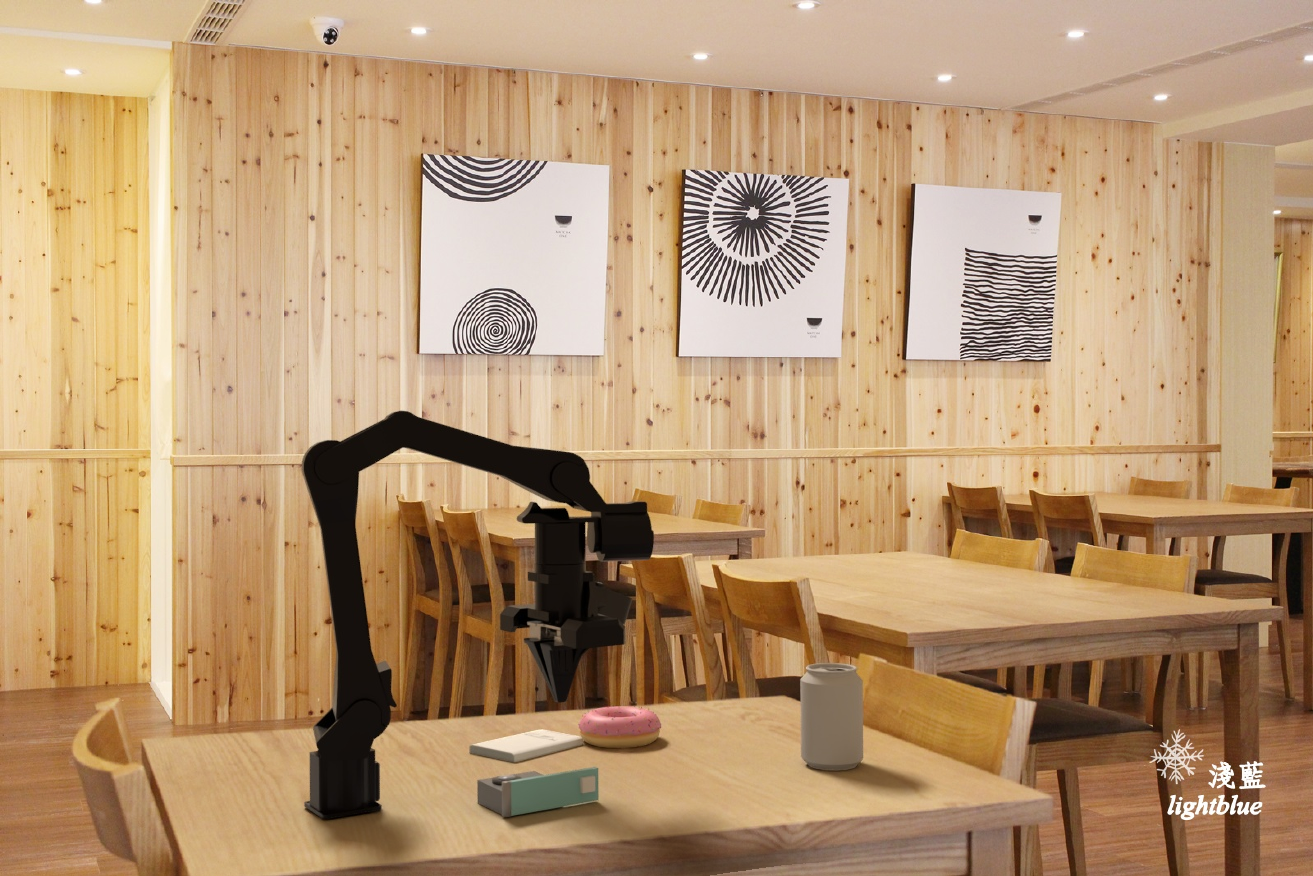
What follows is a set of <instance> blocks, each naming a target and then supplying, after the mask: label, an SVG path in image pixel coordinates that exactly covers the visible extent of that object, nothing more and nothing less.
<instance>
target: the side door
mask: <svg viewBox="0 0 1313 876" xmlns="http://www.w3.org/2000/svg"><path fill="white" fill-rule="evenodd" d="M599 797H600V795H599V767H596V766H592V767H585V768H579V769H573V770H567V771H561V772H554V773H548V774H543V775H541V776H535V777H529V778H523V779H517V780H511V781H503V782H502V815H501V817H504V818H510V817H513V816H517V815H524V814H528V813H534V812H540V811H547V810H552V809H556V808H563V807H568V806H573V805H580V804H584V803H590V802H596V801H599V799H600V798H599Z"/></svg>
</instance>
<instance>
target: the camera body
mask: <svg viewBox="0 0 1313 876" xmlns="http://www.w3.org/2000/svg"><path fill="white" fill-rule="evenodd" d="M541 775H544V774H542V773H540V772H538V771H535V770H532V771H531V770H530V771H525V772H519V773H511V774H504V775H502V774H501V775H497V776H495V777H494V776H493V777H488V778H480V779H477V780H476V782H477V787H476V788H477V791H476V792H477V804H479V805H480V806H482V807H485V808H487V809H489V810H491V811H492V812H495V813H497V814H499V815H500V816H502V782H503V781H511V780H517V779H523V778H529V777H535V776H541Z"/></svg>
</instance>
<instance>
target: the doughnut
mask: <svg viewBox="0 0 1313 876" xmlns="http://www.w3.org/2000/svg"><path fill="white" fill-rule="evenodd" d="M578 729H579V730H580V731H579V735H580V737H582V738H583V742H585V743H587V744H588V745H591V746H594V747H598V748H607V749H630V748H636V747H637V746H639V747H643V746H648V745H650V744H651V743H654V742H655V741H656V740H657V739H658V737H659V736H660V733H661V729H662V723H661V720H660V718H659V717H658V715H657V713H655V712H654V711H652V710H650V709H649V708H647V709H646V708H643V707H642V706H640V707H639V706H631V705H630V706H625V705H624V706H622V705H619V706H615V705H612V706H607V705H606V706H603V707H599V708H595V709H591V710H587V712H586V713H584V714H582V716H581V718H580V721H579V723H578Z"/></svg>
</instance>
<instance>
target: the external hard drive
mask: <svg viewBox="0 0 1313 876" xmlns="http://www.w3.org/2000/svg"><path fill="white" fill-rule="evenodd" d="M583 745H584V740H583V738H582V737H581V735H580V736H579V735H575V734H568V733H563V732H559V731H553V730H549V729H542V728H541V729H536V730H535V729H534V730H531V731H526V732H522V733H517V734H515V735H514V734H512V735H507V736H505V737H504V736H503V737H500V738H495V739H490V740H486V741H482V742H478V743H474V744H470V745H469V754H471V755H477V756H481V757H486V758H491V759H496V760H499V761H504V762H505V761H506V762H510V763H519V762H523V761H525V760H530V759H534V758H537V757H540V756H541V757H542V756H546V755H550V754H554V753H556V752H560V751H564V750H569V749H572V748H577V747H581V746H583Z"/></svg>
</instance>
